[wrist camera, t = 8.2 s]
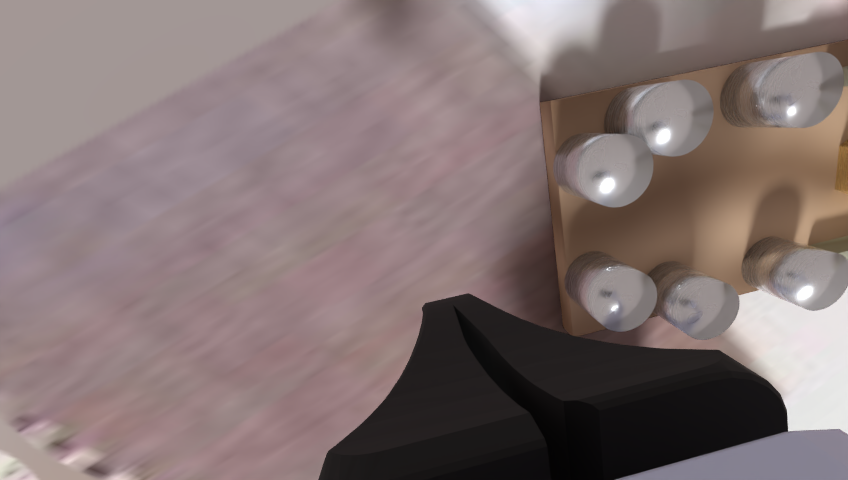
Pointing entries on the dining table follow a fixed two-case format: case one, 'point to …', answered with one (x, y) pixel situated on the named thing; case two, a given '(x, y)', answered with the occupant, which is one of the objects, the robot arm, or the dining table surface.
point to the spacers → (678, 135)
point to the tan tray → (704, 190)
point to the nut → (842, 169)
